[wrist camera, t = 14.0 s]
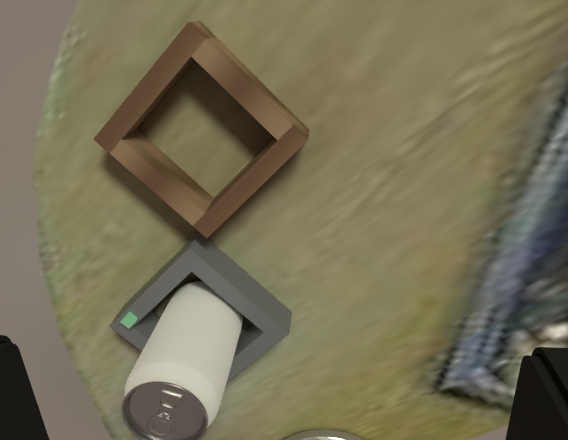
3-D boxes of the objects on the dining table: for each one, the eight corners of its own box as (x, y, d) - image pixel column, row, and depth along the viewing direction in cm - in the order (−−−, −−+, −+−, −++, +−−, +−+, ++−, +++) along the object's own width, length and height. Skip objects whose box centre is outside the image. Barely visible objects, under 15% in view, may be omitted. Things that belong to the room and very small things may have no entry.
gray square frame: (291, 312, 41) (288, 338, 38) (212, 376, 45) (203, 405, 42) (199, 231, 39) (187, 251, 36) (123, 305, 43) (106, 330, 39)
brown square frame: (309, 130, 35) (307, 140, 32) (215, 222, 39) (207, 238, 36) (200, 21, 33) (188, 22, 30) (111, 129, 36) (93, 139, 34)
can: (163, 328, 43) (106, 437, 32) (179, 268, 41) (124, 364, 30) (232, 350, 44) (200, 465, 33) (253, 292, 41) (226, 396, 30)
